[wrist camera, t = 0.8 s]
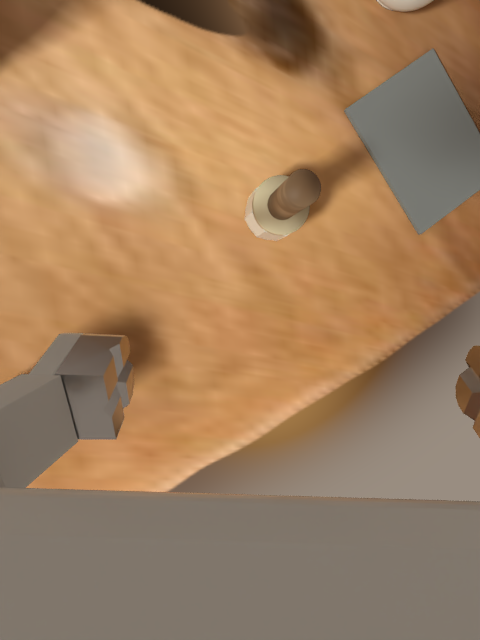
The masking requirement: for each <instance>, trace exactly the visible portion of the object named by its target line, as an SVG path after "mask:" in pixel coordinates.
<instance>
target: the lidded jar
mask: <svg viewBox="0 0 480 640" xmlns="http://www.w3.org/2000/svg"><path fill="white" fill-rule="evenodd" d="M376 1H377V2H378V3H379V4H380V5H381V6H383V7H384V8H386V9H388V10H392V11H400V12H407V11H414V10H417V9H420V8H422V7H424V6H426V5H428V4H429V3H431V2H432V1H434V0H376Z"/></svg>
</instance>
